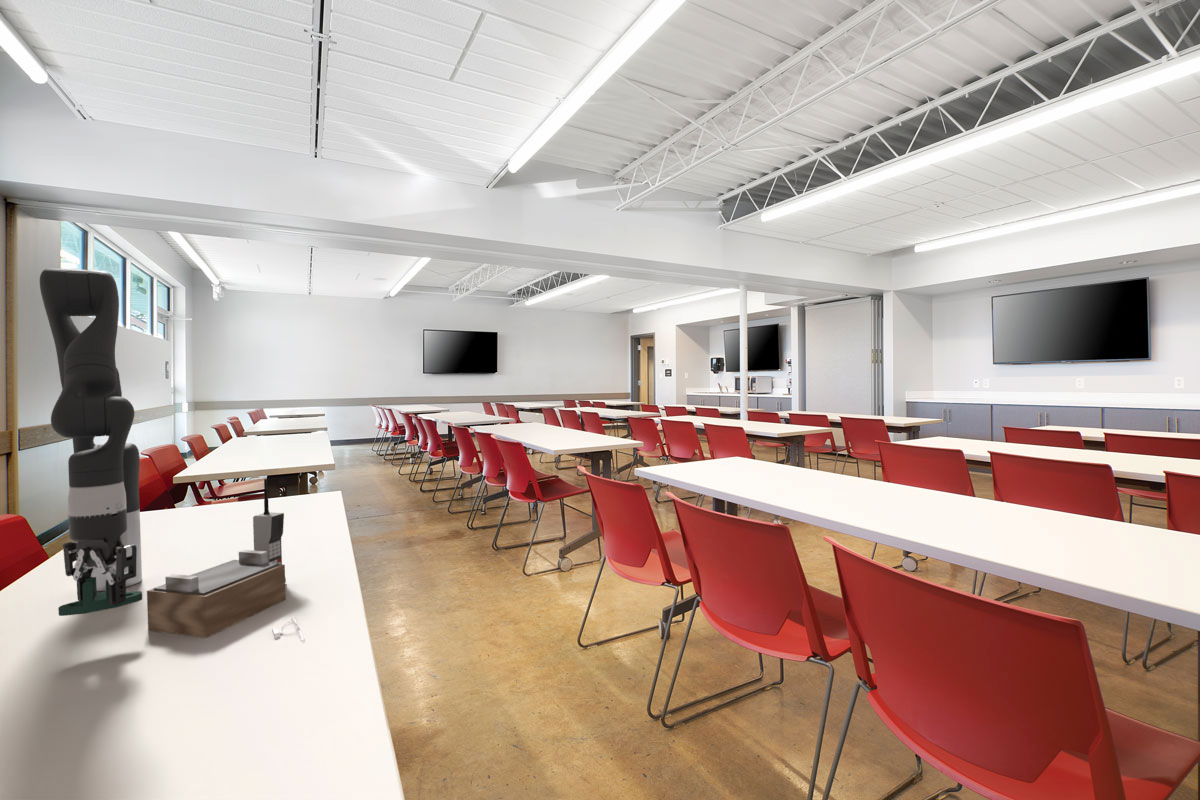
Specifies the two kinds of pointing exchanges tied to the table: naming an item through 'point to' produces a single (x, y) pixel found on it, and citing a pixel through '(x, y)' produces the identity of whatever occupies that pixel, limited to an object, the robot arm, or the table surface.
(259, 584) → the tray
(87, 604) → the mount
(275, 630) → the picture light
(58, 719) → the table surface
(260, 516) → the vintage mobile phone
